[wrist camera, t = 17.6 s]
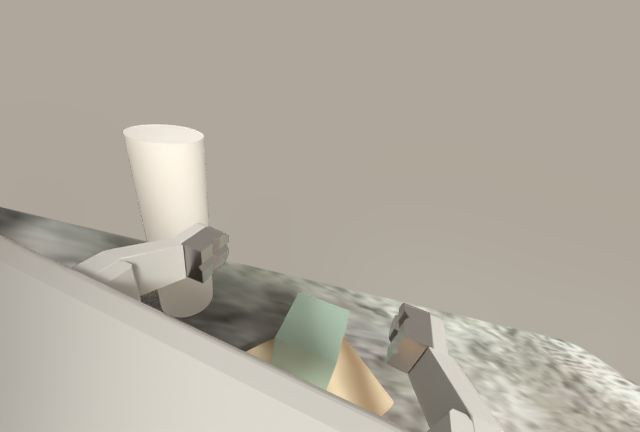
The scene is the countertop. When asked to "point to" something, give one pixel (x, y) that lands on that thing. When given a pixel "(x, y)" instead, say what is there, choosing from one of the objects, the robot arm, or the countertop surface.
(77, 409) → the robot arm
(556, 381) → the countertop surface
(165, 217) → the cylindrical container
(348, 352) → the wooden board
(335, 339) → the mint green rectangular block
